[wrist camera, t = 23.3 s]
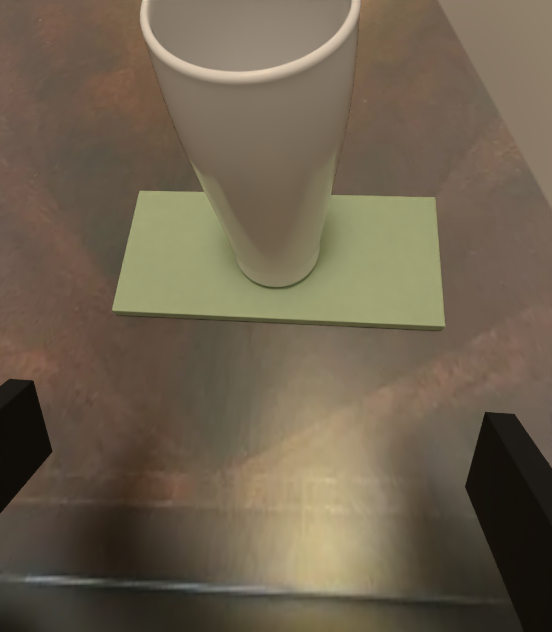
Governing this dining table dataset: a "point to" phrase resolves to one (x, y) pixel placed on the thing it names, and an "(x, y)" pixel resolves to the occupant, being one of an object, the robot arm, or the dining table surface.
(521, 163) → the dining table surface
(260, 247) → the drinking glass
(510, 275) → the dining table surface
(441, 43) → the dining table surface
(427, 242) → the mat
